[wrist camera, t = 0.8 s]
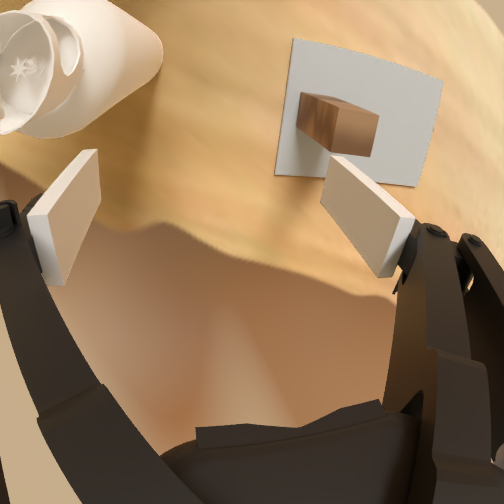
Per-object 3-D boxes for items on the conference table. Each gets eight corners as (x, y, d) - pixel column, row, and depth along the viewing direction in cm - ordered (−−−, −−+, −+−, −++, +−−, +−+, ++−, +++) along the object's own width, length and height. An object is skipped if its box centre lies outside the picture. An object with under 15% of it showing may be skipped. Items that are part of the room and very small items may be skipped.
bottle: (173, 72, 32) (136, 114, 9) (110, 101, 32) (-24, 210, 10) (151, 13, 27) (67, -72, 5) (86, 43, 27) (-87, 58, 5)
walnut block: (300, 91, 35) (339, 107, 27) (334, 97, 36) (379, 115, 28) (295, 126, 38) (330, 152, 29) (328, 129, 39) (370, 157, 30)
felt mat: (293, 38, 32) (294, 37, 31) (441, 80, 37) (443, 81, 36) (274, 173, 42) (274, 174, 41) (415, 186, 47) (417, 187, 46)
